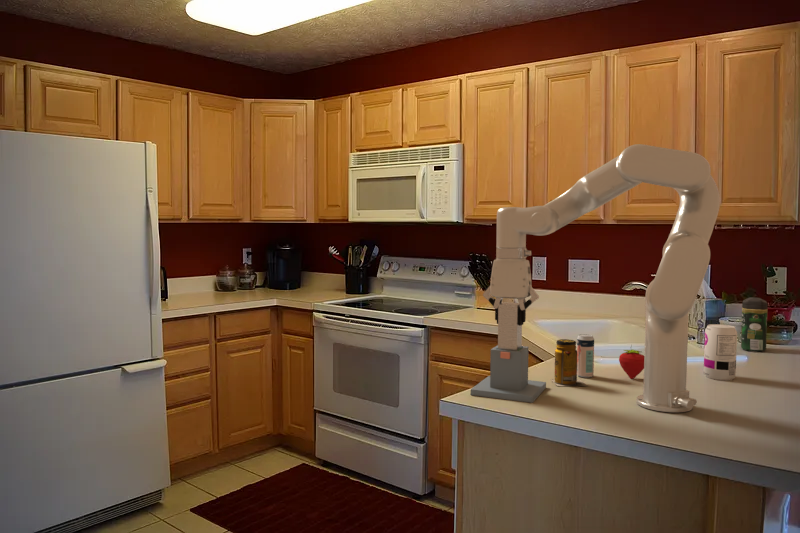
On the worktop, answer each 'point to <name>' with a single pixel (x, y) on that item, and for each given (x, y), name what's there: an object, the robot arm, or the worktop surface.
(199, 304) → the worktop surface
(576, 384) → the condiment
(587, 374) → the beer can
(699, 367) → the worktop surface
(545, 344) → the worktop surface
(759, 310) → the coffee jar
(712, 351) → the supplement can
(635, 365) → the strawberry
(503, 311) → the block
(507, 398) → the sleeve
